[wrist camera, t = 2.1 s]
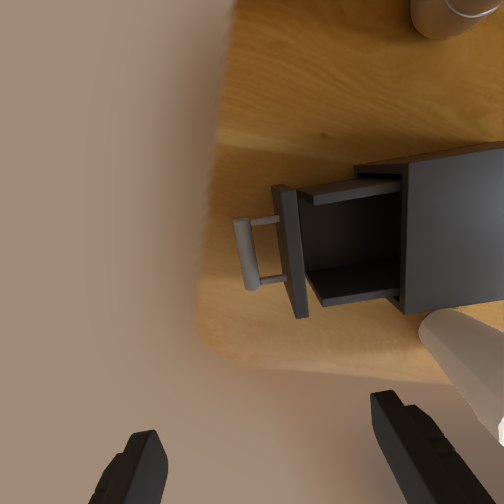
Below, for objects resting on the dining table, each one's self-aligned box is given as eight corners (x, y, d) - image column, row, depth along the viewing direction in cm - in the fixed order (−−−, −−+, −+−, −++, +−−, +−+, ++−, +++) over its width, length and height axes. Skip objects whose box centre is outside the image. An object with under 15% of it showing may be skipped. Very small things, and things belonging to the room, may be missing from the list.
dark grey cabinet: (357, 272, 31) (404, 315, 22) (354, 165, 27) (408, 162, 18) (477, 253, 31) (576, 289, 22) (491, 142, 27) (618, 127, 18)
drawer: (248, 288, 30) (249, 326, 23) (230, 192, 27) (225, 201, 19) (397, 265, 30) (446, 296, 22) (398, 164, 26) (458, 161, 19)
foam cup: (462, 359, 35) (578, 461, 23) (398, 355, 35) (482, 456, 23) (488, 299, 33) (636, 378, 20) (419, 293, 32) (527, 371, 20)
